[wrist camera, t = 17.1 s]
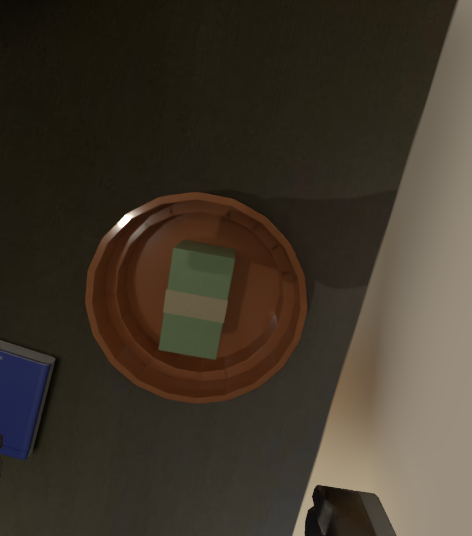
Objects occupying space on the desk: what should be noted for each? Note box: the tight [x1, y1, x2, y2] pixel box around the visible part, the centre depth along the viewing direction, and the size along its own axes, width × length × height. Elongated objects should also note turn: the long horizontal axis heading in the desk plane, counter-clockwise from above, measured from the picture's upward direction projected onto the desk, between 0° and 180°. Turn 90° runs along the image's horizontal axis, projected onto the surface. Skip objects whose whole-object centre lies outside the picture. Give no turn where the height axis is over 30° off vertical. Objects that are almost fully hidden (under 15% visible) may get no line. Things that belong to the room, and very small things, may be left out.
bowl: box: [85, 192, 308, 404], centre depth 28 cm, size 18×18×6 cm
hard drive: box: [0, 340, 56, 460], centre depth 32 cm, size 2×8×12 cm
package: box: [159, 240, 236, 360], centre depth 27 cm, size 5×9×5 cm, turn 169°
